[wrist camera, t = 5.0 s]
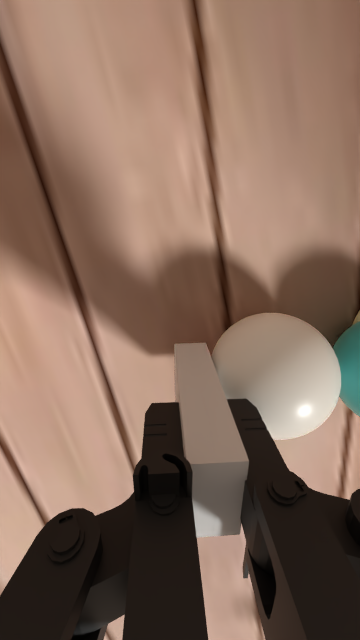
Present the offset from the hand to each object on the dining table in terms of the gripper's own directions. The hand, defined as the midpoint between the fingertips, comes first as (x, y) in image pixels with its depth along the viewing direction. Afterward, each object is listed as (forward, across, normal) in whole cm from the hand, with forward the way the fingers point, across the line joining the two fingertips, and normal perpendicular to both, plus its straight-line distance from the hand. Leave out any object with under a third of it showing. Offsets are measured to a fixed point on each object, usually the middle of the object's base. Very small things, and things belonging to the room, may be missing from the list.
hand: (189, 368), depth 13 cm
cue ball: (-1, -4, 0) cm, 4 cm away
